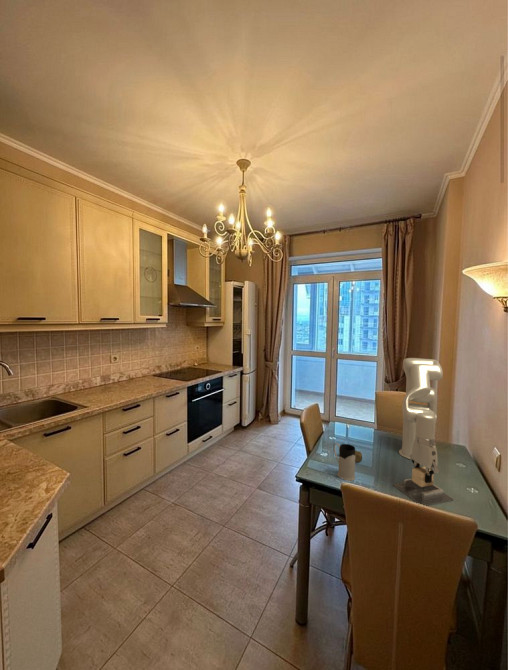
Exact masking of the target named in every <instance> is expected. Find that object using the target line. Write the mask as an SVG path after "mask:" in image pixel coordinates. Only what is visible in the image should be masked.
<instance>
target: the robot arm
mask: <svg viewBox="0 0 508 670" xmlns="http://www.w3.org/2000/svg"><path fill="white" fill-rule="evenodd" d="M402 368H403V371H404V373H405V377H406V385H405V396H404V397H403V400H402V406H401V407H402V409H401V411H402V442H401V443H402V444H401V448H400V449H399V450H398V453H399V455H400V456H401V457H403V458H406V459H409V460H411V463H412V466H413V468H418V467H426V473H427V474H425V483H431V482H432V475H433V474H434V475H435V474H436V473H440V470H439V468H438V464H439V463H438V449H437V442H435V439H436V438H435V436H436V435H435V434H436V423H437V422H438V421H437V420H438V417H437V416H438V414H437V413H438V392H437V389H435V388H434V387H431V381H442V379H443V377H444V371H443V368H442V365H441V363H440V362H439V361H438V360H437V359H432V358H421V357H420V358H419V357H408V358H407V357H406V358H404V359H403V361H402ZM411 402H412V403H411ZM419 403H421V404H419ZM422 403H425V404H422ZM429 470H430V471H429Z"/></svg>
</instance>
